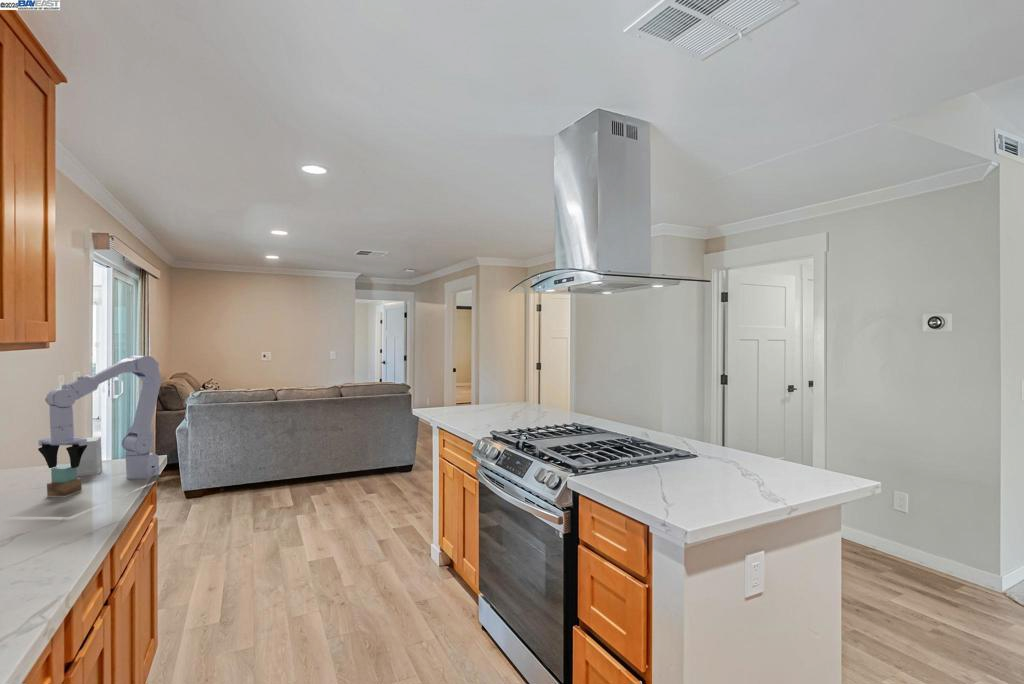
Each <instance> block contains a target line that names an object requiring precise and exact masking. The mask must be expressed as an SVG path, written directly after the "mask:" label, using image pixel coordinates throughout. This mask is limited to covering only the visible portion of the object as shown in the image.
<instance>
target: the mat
mask: <svg viewBox="0 0 1024 684" xmlns="http://www.w3.org/2000/svg"><path fill="white" fill-rule="evenodd" d="M84 490H85V488H84V489H83V488H82V490H80V491H78V492H75V493H72V494H70V495H67V496H47V495H45V496H44V497H45V498H47V497H50V498H51V497H53V498H57V497H59V498H66V497H69V496H71V495H75V494H77V493H80V492H81V491H84Z"/></svg>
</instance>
